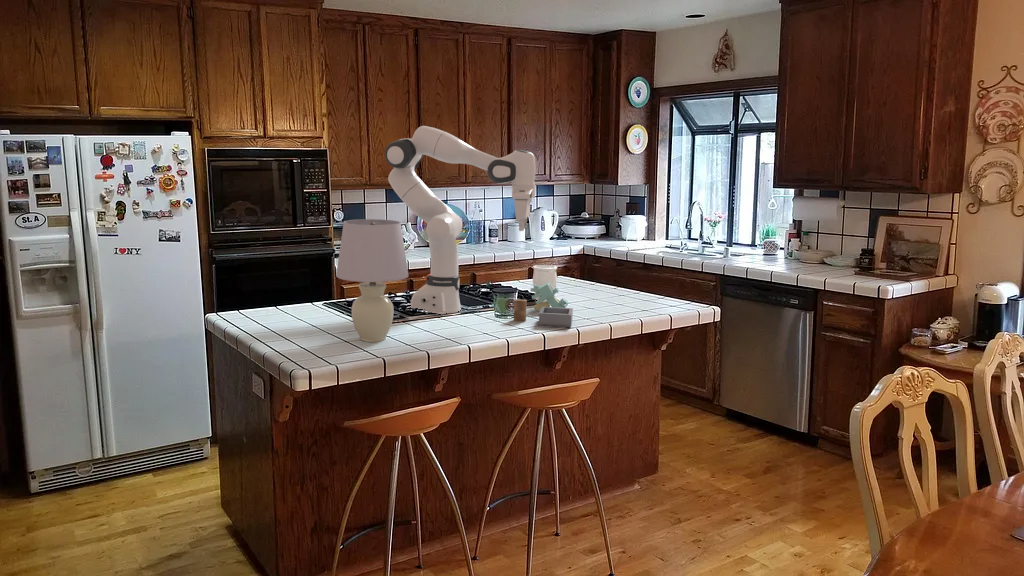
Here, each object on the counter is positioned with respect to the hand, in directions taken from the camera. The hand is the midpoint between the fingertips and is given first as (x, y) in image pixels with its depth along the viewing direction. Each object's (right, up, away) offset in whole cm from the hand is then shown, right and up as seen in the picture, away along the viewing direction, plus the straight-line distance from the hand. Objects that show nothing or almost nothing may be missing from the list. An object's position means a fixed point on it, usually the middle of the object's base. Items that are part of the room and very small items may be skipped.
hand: (522, 229), depth 300 cm
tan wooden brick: (-1, -35, 0) cm, 35 cm away
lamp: (-52, -40, -33) cm, 73 cm away
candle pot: (+13, -36, -3) cm, 38 cm away
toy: (+11, -32, +20) cm, 39 cm away
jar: (+10, -28, +40) cm, 50 cm away
